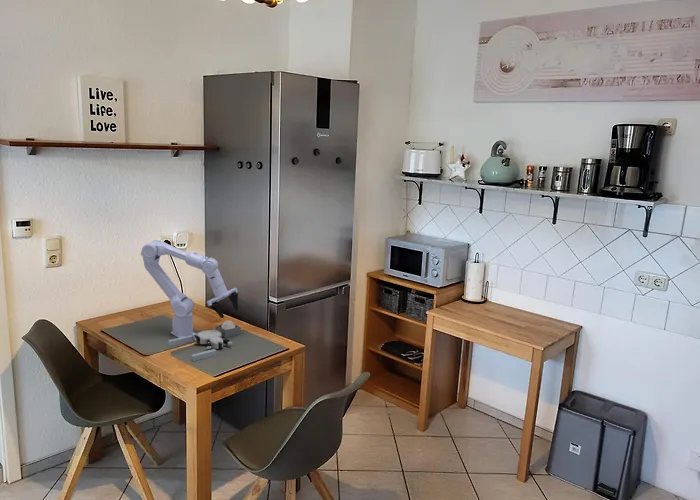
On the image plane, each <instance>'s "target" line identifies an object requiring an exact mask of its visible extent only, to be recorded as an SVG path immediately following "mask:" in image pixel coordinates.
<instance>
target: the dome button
mask: <svg viewBox="0 0 700 500" xmlns="http://www.w3.org/2000/svg"><path fill="white" fill-rule="evenodd" d="M233 323H234V322H233V321H231V320H226V321H224V322H223V325H222V324H221V325H222V326H221V328H223V329H225V330H228V329H232V328H235V325H234V324H235V323H234V324H233Z"/></svg>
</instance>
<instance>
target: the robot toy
mask: <svg viewBox="0 0 700 500" xmlns="http://www.w3.org/2000/svg"><path fill="white" fill-rule="evenodd" d="M192 338H193V339H194V341H196V342H197V343H198V344H200V345H206V349H207V350H212V349H215V350H218V349H220V348H223V347H224V345H226V346H228V345H232V344H233V342H232V341H231V340H230V339H227V338H224V339H223V336H222V333H221V332H220V331H219V329H218V330H216V329H209V330H208V329H206V330H202V331H199V332H197V333H196V335H194V336H193V334H192Z"/></svg>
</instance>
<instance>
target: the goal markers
mask: <svg viewBox="0 0 700 500" xmlns="http://www.w3.org/2000/svg"><path fill="white" fill-rule="evenodd" d="M190 342H193V336H190V335H189V336H185V337H180V338H178V337H176V338H173V339H168V340H167V346H169V347H174V346H178V345H181V344H185V343H190ZM217 353H218V352H217V349H213V348H211V349H207V350H204V351H200V352H198V353H194V354H191V355H190V360H191V361H192V362H195V361H199V360H200V361H201V360H203V359H206V358H207V359H208V358H210V357H215V356H217V355H218V354H217Z"/></svg>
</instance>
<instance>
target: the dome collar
mask: <svg viewBox="0 0 700 500" xmlns="http://www.w3.org/2000/svg"><path fill="white" fill-rule="evenodd" d="M233 324H234V325H235V328H232V329H228V330H225V329H223V328H221V326H222V325H223V324H218V325H217V324H216V325H215V330H218V329H219V331H220V332H221V333H222V338H224V339H227V338H230V337H234V336H238V335H241V334H242V327H241V326H240V325H238V324H236V323H234V322H233Z"/></svg>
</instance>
